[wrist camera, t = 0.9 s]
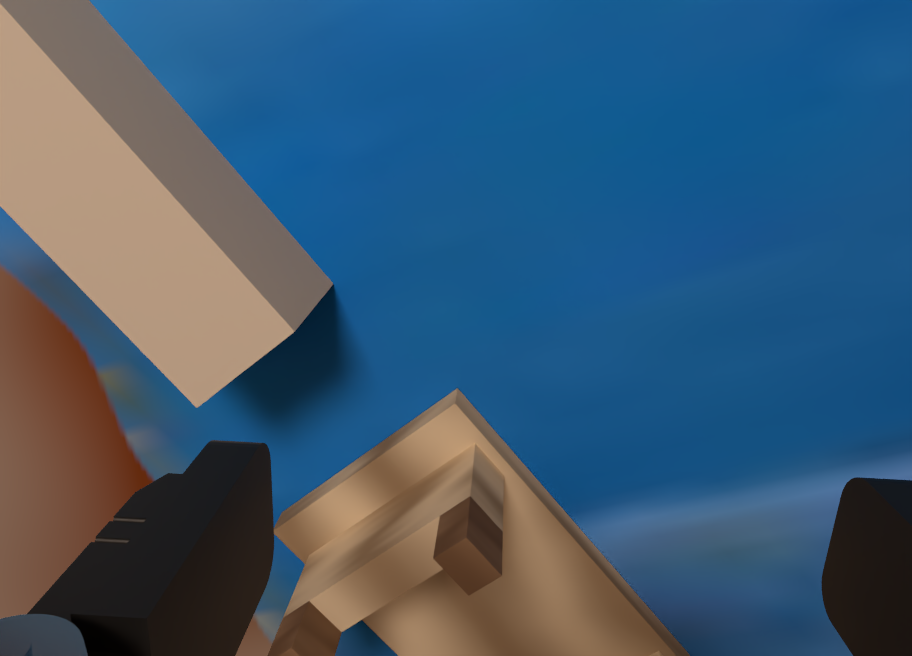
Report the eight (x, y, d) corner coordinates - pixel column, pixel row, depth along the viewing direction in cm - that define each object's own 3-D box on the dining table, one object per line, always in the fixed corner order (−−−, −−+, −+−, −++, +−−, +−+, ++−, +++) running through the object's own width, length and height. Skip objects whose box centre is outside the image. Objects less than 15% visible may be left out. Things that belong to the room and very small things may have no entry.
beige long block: (13, -91, 26) (-124, -134, 20) (334, 282, 30) (294, 331, 25) (-66, 1, 27) (-215, -15, 22) (252, 347, 32) (197, 407, 26)
